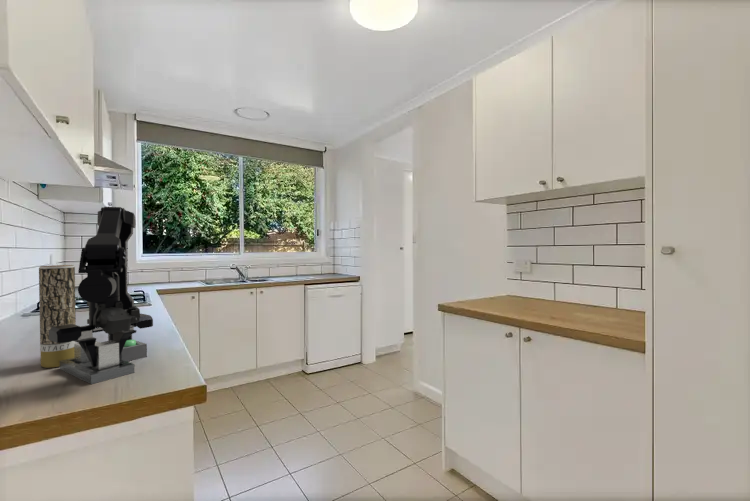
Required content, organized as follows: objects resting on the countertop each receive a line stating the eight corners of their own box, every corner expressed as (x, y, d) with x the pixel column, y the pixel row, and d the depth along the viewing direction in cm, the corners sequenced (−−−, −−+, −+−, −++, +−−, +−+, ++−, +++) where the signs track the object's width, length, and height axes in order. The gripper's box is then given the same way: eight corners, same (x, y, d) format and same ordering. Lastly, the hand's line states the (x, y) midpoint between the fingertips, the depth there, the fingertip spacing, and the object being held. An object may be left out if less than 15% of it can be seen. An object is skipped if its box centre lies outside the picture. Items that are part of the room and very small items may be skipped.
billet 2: (99, 373, 81) (98, 346, 81) (91, 370, 83) (91, 344, 83) (119, 368, 84) (118, 342, 84) (111, 365, 87) (111, 340, 87)
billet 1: (74, 368, 89) (74, 343, 89) (94, 363, 92) (93, 340, 92) (81, 371, 86) (80, 346, 86) (100, 366, 90) (100, 342, 90)
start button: (120, 350, 96) (120, 341, 96) (132, 348, 99) (132, 339, 99) (125, 352, 94) (125, 343, 94) (138, 349, 97) (137, 340, 97)
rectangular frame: (59, 369, 88) (59, 360, 88) (100, 359, 95) (100, 352, 95) (91, 384, 78) (91, 375, 78) (134, 372, 85) (134, 364, 85)
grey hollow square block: (111, 359, 96) (111, 345, 96) (136, 353, 101) (136, 340, 101) (121, 362, 92) (121, 349, 92) (146, 356, 97) (146, 343, 97)
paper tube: (47, 362, 93) (45, 265, 93) (80, 358, 96) (78, 264, 96) (35, 370, 87) (33, 266, 87) (71, 366, 90) (69, 266, 90)
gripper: (66, 305, 71) (68, 384, 72) (164, 294, 87) (165, 358, 87) (47, 301, 78) (48, 373, 78) (141, 291, 93) (142, 351, 93)
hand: (105, 363), depth 84 cm, fingers closed on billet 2, 4 cm apart
